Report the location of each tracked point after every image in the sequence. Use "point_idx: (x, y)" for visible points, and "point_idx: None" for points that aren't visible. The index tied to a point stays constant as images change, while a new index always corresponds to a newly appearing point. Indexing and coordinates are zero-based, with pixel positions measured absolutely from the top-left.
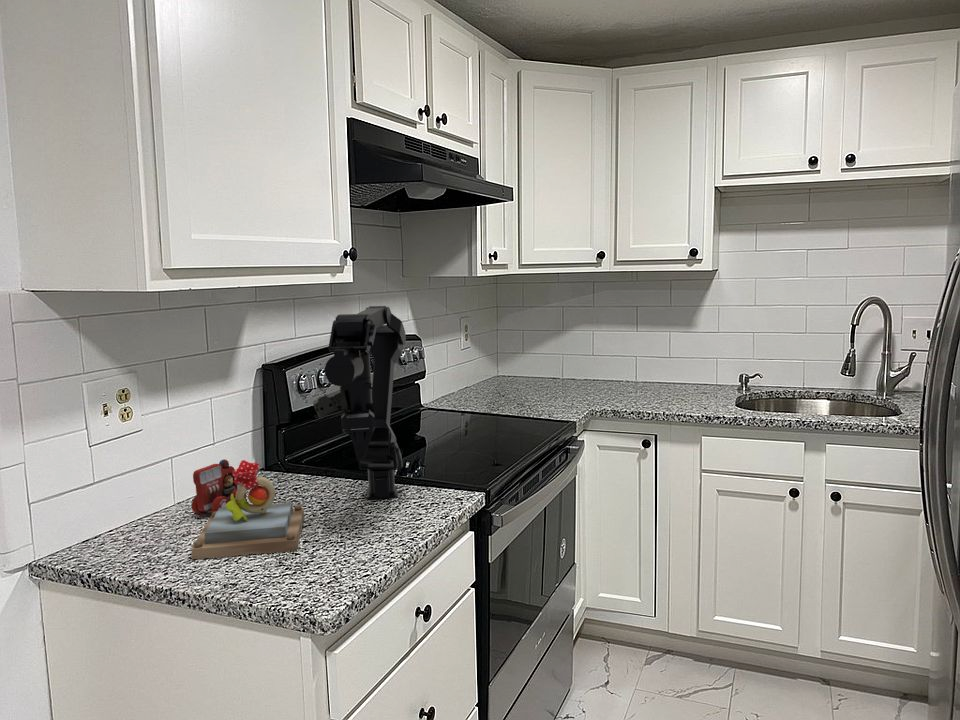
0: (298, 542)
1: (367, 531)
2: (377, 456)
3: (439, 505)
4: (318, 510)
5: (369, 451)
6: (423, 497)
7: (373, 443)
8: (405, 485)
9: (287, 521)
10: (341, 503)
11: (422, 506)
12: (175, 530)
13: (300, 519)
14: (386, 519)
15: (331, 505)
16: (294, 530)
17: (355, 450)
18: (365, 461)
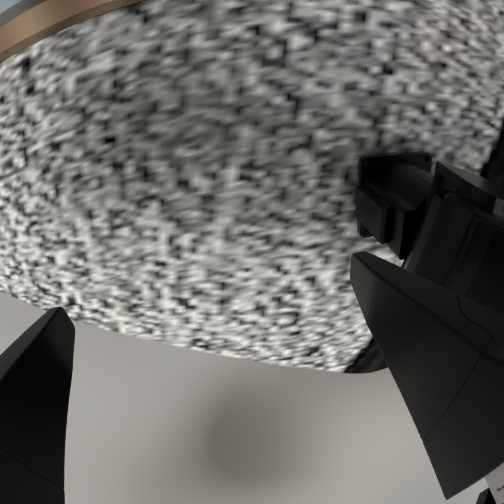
0: (17, 51)
1: (93, 202)
2: (413, 269)
3: (279, 328)
4: (287, 15)
5: (438, 250)
6: (343, 291)
7: (453, 291)
8: None
9: (17, 6)
10: (345, 80)
11: (278, 299)
12: None
13: (101, 3)
14: (184, 232)
15: (331, 51)
16: (16, 33)
17: (7, 353)
18: (428, 205)
